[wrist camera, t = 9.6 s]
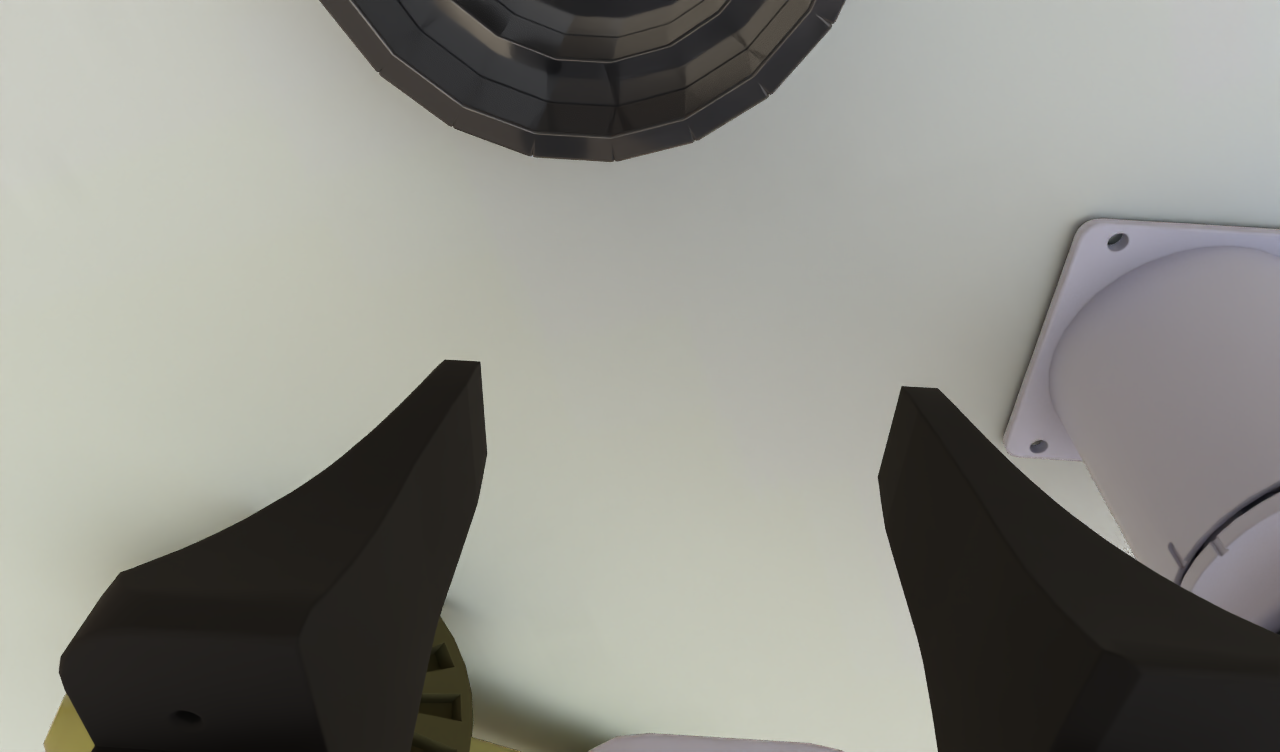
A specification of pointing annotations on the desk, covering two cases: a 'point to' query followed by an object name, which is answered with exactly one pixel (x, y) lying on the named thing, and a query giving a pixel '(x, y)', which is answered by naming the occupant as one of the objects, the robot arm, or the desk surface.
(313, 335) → the desk surface
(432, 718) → the cannon
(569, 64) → the bowl
